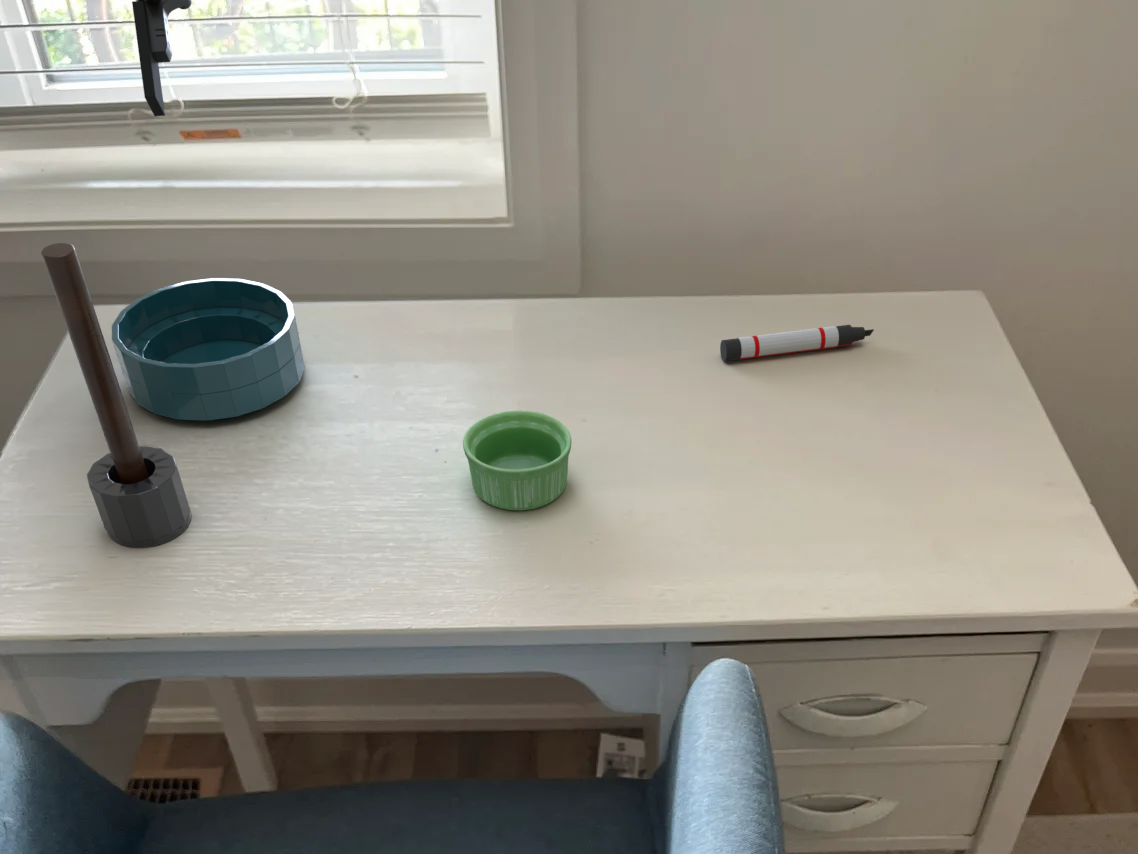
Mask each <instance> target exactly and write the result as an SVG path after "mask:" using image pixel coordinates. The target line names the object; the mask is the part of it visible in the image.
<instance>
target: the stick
mask: <svg viewBox="0 0 1138 854" xmlns="http://www.w3.org/2000/svg"><path fill="white" fill-rule="evenodd" d="M40 255H41V258H42V260H43V264H44V266H45V269H46V272H47V275H48V277H49V280H50V284H51V286H52V289H53V292H54V295H55V298H56V301H57V303H58V306H59V309H60V312H61V315H62V318H63V321H64V323H65V326H66V329H67V332H68V336H69V339H70V341H71V344H72V347H73V349H74V353H75V356H76V358H77V362H78V364H79V367H80V370H81V372H82V375H83V378H84V381H85V384H86V387H87V390H88V392H89V396H90V398H91V401H92V404H93V408H94V410H95V412H96V415H97V418H98V422H99V424H100V428H101V430H102V433H103V436H104V438H105V441H106V444H107V447H108V450H109V453H111V456H112V459H113V462H114V465H115V467H116V470H117V473H118V476H119V479H120V482H121V484H135V483H138V482H141V481H143V480H146V479H147V478H149V475H148V472H147V469H146V466H145V463H144V460H143V457H142V454H141V451H140V448H139V446H140V445H139V441H138V438H137V436H136V432H135V429H134V426H133V424H132V421H131V418H130V414H129V411H128V408H127V405H126V402H125V399H124V396H123V393H122V390H121V387H120V383H119V380H118V377H117V375H116V372H115V367H114V364H113V362H112V359H111V355H110V352H109V350H108V346H107V343H106V341H105V338H104V335H103V332H102V328H101V325H100V323H99V318H98V316H97V313H96V309H95V306H94V304H93V301H92V298H91V295H90V292H89V287H88V285H87V282H86V279H85V276H84V273H83V271H82V267H81V264H80V261H79V258H78V255H77V251H76V249H75V247H74V245H73V244H71V243H68V242H67V243H66V242H57V243H52V244H49V245H47V246H45V247H43V248H42V249H41V251H40Z"/></svg>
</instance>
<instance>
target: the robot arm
mask: <svg viewBox="0 0 1138 854" xmlns="http://www.w3.org/2000/svg"><path fill="white" fill-rule="evenodd" d="M192 1H193V0H134V1H131V5H132V11H133V19H134V27H135V28H134V29H135V35H136V40H137V50H138V57H139V65H140V72H141V73H140V74H141V79H142V87H143V96H144V99H145V101H146V103H147V104H148V105H147V106H148V107H149V108H150V110H151V112H152V114H153V116H154V117H164V116H166V112H165V111H166V110H165V103H164V97H163V96H164V95H163V89H162V83H161V82H162V81H161V74H160V67H159V66H160V65H159V64H161V63H171V61H172V56H173V49H172V44H171V36H170V28H169V15H170V14H171V13H172V12H173V11H175V10H177V9H180V10H188V9H190V7H191V5H192V3H193V2H192Z"/></svg>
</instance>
